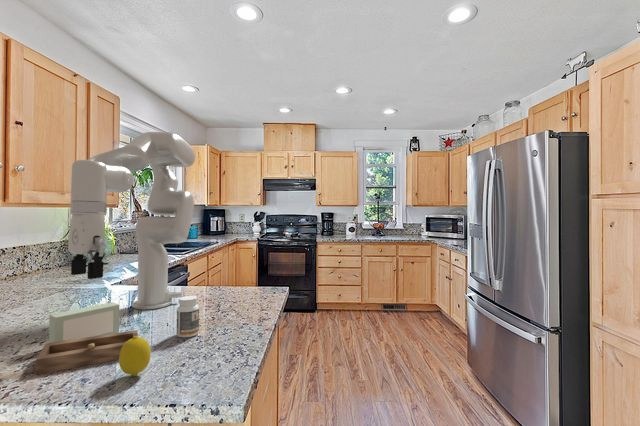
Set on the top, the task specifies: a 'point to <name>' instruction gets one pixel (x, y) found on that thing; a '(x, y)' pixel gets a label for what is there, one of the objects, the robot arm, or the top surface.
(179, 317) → the pill bottle
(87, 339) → the wooden tray
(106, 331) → the frame
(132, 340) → the lemon
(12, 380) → the top surface
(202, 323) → the top surface
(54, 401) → the top surface
